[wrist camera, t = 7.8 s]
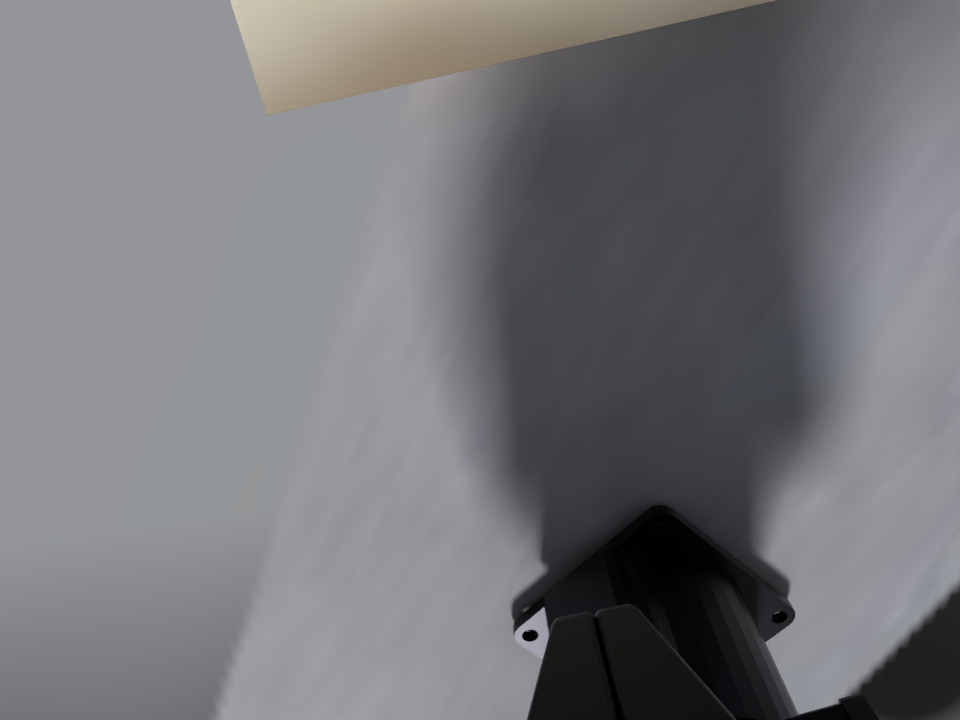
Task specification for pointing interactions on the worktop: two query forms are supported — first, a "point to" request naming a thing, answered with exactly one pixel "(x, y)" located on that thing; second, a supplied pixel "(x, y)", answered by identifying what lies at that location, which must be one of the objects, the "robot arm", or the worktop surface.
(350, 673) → the worktop surface
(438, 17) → the plate
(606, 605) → the robot arm
